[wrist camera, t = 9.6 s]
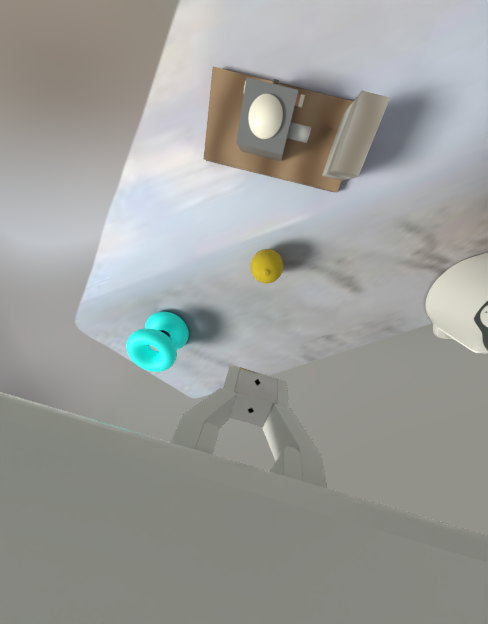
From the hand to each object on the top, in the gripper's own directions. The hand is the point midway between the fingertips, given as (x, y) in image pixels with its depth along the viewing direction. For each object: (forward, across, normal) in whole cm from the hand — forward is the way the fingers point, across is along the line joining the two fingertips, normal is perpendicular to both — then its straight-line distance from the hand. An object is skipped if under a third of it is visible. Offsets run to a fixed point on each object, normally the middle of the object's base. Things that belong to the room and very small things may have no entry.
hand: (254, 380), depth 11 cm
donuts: (+31, +18, +23) cm, 43 cm away
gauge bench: (+32, +4, -16) cm, 36 cm away
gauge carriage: (+30, +4, -17) cm, 35 cm away
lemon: (+32, 0, +2) cm, 32 cm away
